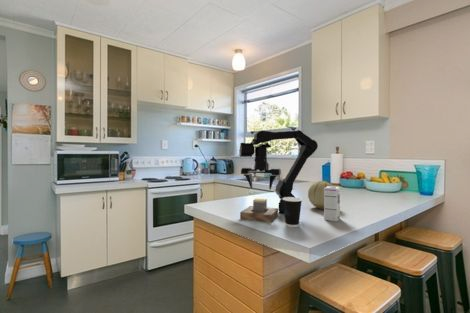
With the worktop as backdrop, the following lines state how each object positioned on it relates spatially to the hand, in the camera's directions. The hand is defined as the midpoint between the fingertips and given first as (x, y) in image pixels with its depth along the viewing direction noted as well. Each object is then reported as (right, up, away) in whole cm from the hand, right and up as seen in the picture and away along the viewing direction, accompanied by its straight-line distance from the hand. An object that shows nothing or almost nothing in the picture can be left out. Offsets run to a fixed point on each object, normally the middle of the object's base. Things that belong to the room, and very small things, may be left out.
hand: (260, 188), depth 122 cm
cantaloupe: (+34, -12, +12) cm, 38 cm away
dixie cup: (+11, -13, -19) cm, 26 cm away
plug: (-1, -12, -6) cm, 14 cm away
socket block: (-1, -12, -6) cm, 14 cm away
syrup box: (+31, -13, -9) cm, 35 cm away
